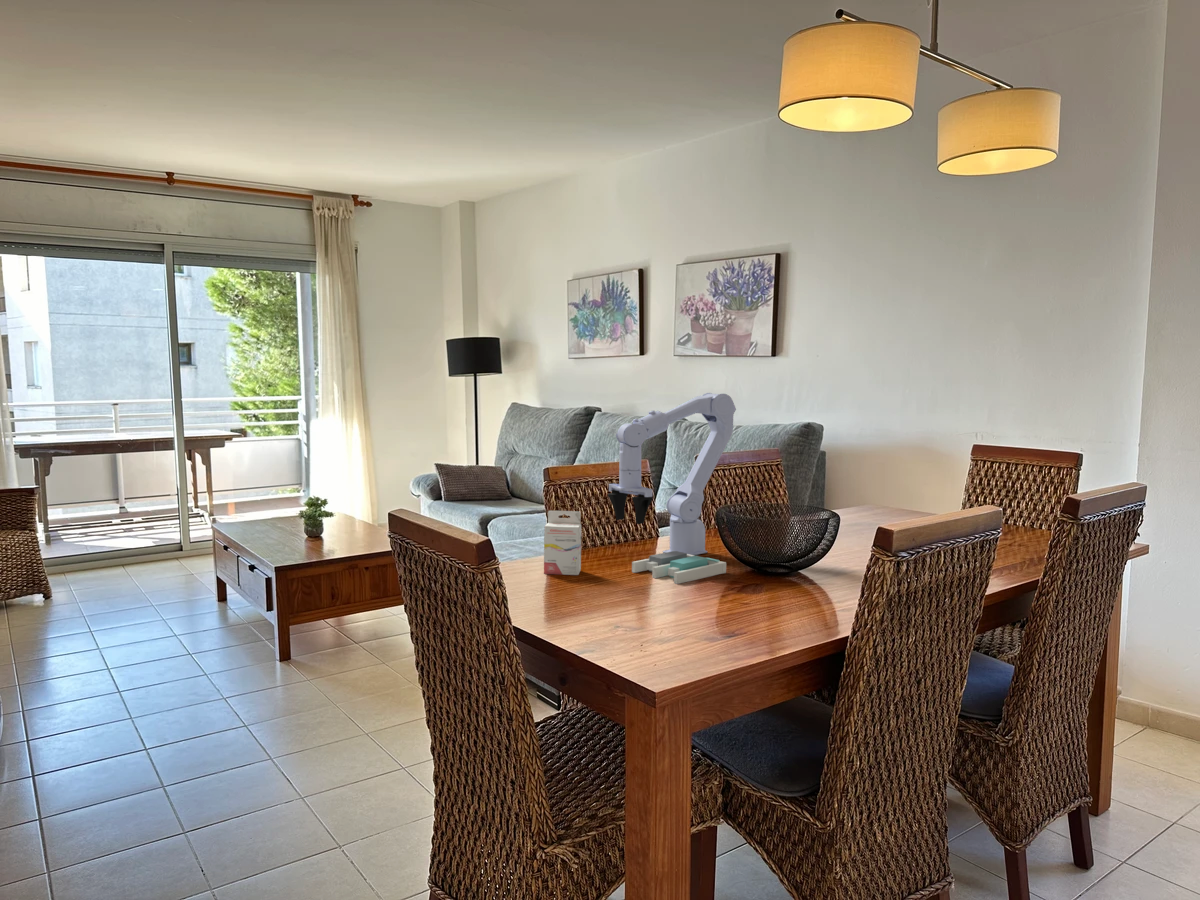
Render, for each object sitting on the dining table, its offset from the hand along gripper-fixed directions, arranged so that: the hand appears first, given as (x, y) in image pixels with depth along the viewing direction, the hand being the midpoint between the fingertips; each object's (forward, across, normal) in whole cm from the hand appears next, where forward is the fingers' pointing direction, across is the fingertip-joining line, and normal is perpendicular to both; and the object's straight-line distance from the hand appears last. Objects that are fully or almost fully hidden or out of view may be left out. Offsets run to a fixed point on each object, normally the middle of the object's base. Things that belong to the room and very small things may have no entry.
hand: (629, 521), depth 215 cm
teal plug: (+10, +24, -3) cm, 26 cm away
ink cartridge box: (+10, +2, -24) cm, 26 cm away
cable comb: (+9, +20, -2) cm, 22 cm away
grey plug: (+10, +16, -3) cm, 19 cm away
